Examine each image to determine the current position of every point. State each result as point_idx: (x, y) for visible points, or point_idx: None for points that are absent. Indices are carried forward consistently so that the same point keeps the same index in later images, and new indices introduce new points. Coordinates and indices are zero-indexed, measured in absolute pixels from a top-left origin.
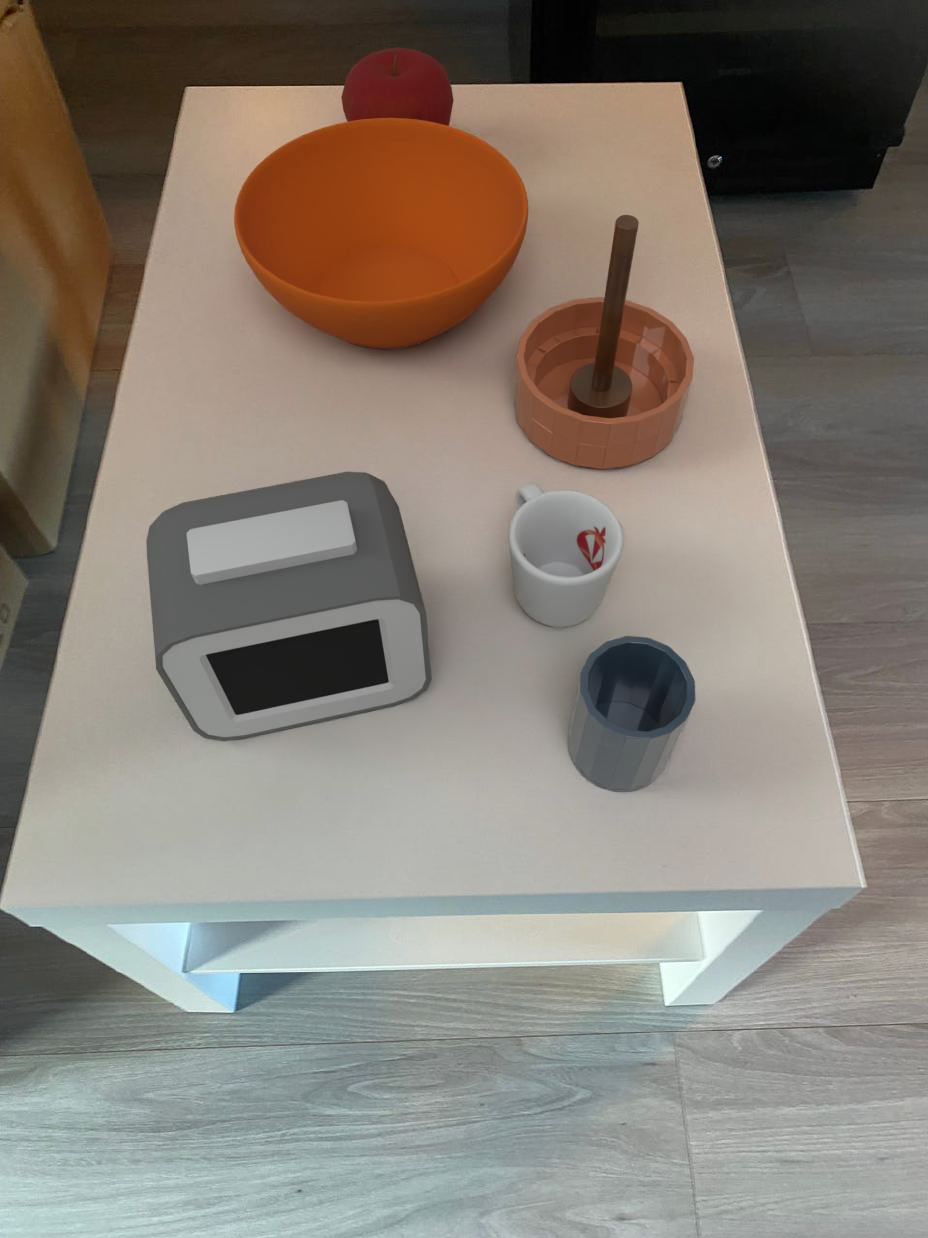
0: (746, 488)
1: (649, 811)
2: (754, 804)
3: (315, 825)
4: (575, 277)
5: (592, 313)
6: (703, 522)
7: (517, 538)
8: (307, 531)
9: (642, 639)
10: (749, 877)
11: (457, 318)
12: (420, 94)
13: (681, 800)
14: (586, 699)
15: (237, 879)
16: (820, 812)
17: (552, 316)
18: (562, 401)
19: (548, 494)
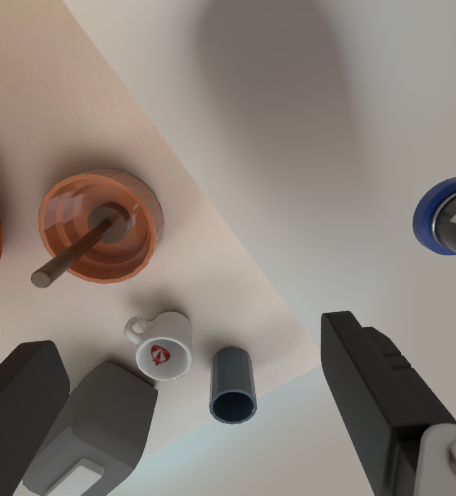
0: (215, 223)
1: (254, 376)
2: (286, 356)
3: (160, 429)
4: (17, 115)
5: (61, 189)
6: (207, 255)
7: (146, 369)
8: (81, 482)
9: (224, 391)
10: (294, 376)
11: (1, 251)
12: None
13: (262, 367)
14: (219, 420)
15: (153, 449)
16: (309, 347)
17: (45, 215)
18: None
19: (141, 347)
